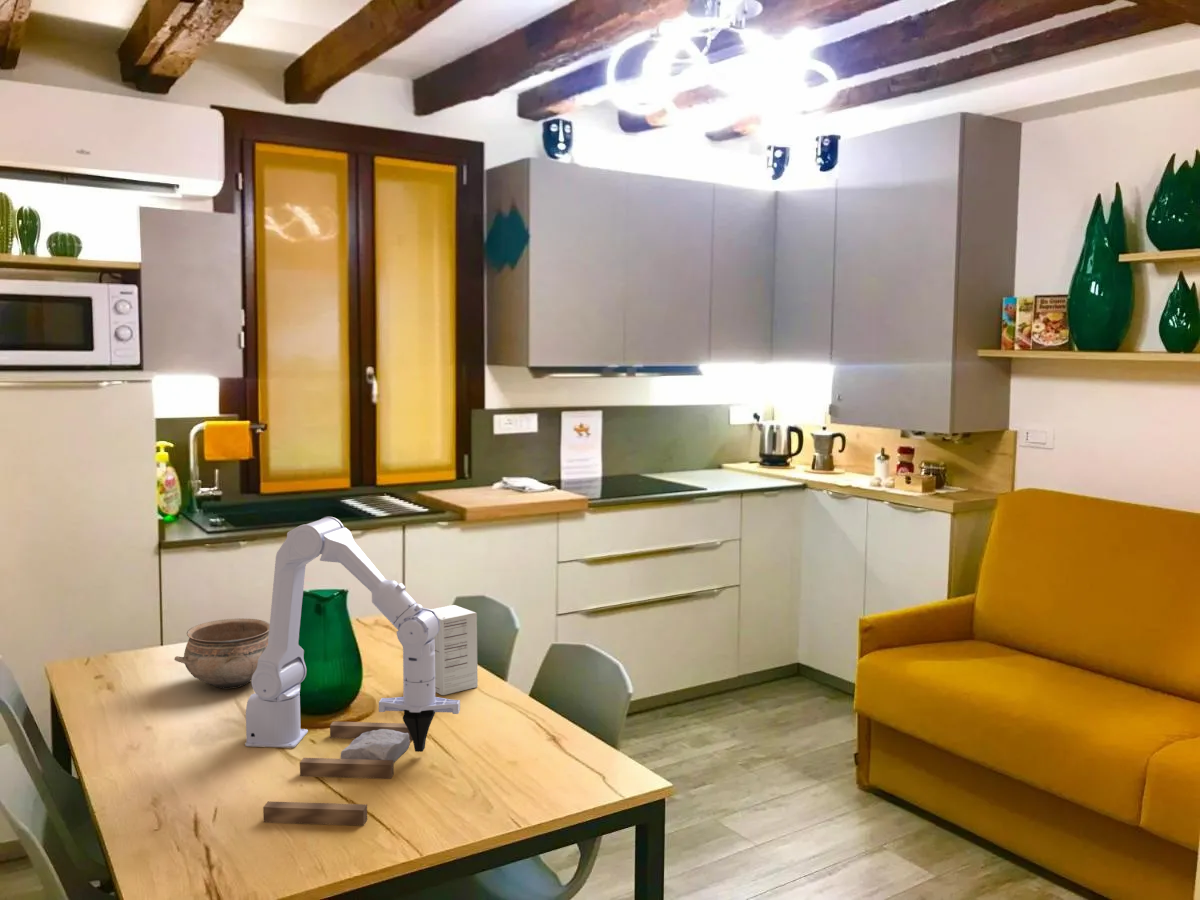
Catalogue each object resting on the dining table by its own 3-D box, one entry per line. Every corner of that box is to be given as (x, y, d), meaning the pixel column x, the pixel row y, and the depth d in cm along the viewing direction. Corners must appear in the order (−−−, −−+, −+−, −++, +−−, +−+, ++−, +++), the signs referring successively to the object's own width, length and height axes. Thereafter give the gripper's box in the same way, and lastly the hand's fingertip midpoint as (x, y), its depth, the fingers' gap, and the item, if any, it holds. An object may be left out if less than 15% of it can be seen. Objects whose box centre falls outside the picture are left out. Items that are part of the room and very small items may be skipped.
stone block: (337, 778, 181) (388, 773, 179) (332, 752, 181) (383, 746, 179) (366, 754, 193) (415, 748, 191) (361, 729, 193) (410, 723, 191)
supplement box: (478, 687, 223) (478, 612, 221) (442, 696, 217) (442, 619, 215) (455, 676, 231) (455, 603, 229) (419, 684, 225) (419, 610, 223)
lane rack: (263, 822, 161) (263, 807, 160) (333, 733, 196) (333, 721, 196) (363, 825, 160) (363, 810, 160) (415, 736, 196) (415, 723, 195)
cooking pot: (258, 660, 240) (257, 610, 238) (305, 678, 228) (304, 625, 226) (155, 688, 221) (152, 633, 219) (200, 709, 209) (198, 651, 207)
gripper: (373, 683, 181) (374, 757, 182) (454, 686, 180) (455, 759, 182) (384, 671, 188) (384, 741, 189) (462, 673, 187) (462, 744, 189)
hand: (419, 749), depth 186 cm, fingers closed
